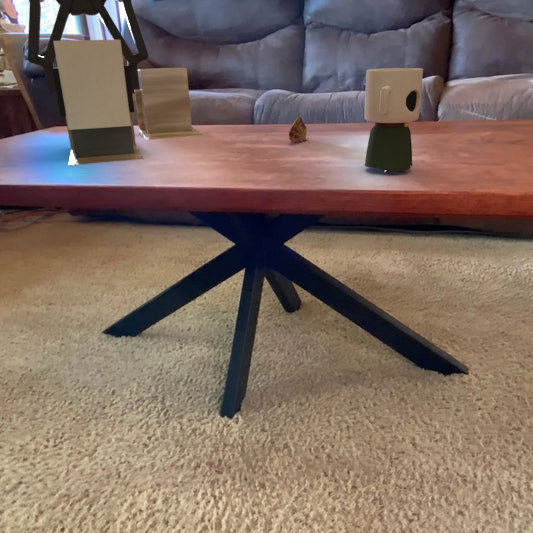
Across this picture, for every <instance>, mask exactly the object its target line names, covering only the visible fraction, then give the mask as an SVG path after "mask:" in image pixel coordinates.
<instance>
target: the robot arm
mask: <svg viewBox="0 0 533 533" xmlns="http://www.w3.org/2000/svg"><path fill="white" fill-rule="evenodd" d="M44 1H45V0H28V3H29V14H28V15H29V16H28V35H27V36H28V38H27V61H28V62H29V63H30V64H33V65H37V66H40V67H41V68H42V69H43V72H44V77H45V83H46V89H47V91H48V92H50V93H55V92H56V97H57V102H58V109H59V114H60V117H65V116H66V111H65V106H64V100H63V94H62V88H61V82H60V76H59V71H58V67H54V62H55V59H56V54H55V48H54V42H53V41H62V37H63V35H64V31H65V28H66V25H67V22H68V19H69V17H70V16H72V17H73V16H74V17H75V16H77V17H78V16H81V15H86V16H96V15H98V17H99V19H100V21H101V22H102V23H103V25H104V27H105V28H106V30H107V31H108V34H109V35H110V36H111V38H112V40H121V48H122V56H123V57H124V58H123V59H124V60H125V61H126V63H127V64H126V65H124V73H125V81H126V89H127V97H128V105H129V112H132V113H135V105H134V95H133V89H139V87H140V86H139V77H138V65H139V63H141V62H144V61H146V60H148V58H149V53H148V50H147V47H146V44H145V40H144V37H143V35H142V32H141V31H142V30H141V28H140V25H139V22H138V19H137V16H136V13H135V10H134V7H133V4H132V0H116V1H117V2H119V3H121V7H122V11H123V13H124V17H125V20H126V22H127V25H128V29H129V32H130V34H131V37H132V41H133V43H134V44H133V45H134V46H135V50H136V53H133V51H132V50H131V48H130V46H129V45H128V43H127V41H126V40H125V37H124V36H123V35H122V33H121V32H120V29H119V28H118V26H117V25H116V24H115V22H114V20H113V18H112V17H111V15H110V13H109V11H108V10H107V7H106V6H105V4H106V3H107V0H55V1H56V2H57V4H58V5H59V8H58V11H57V14H56V18H55V21H54V24H53V27H52V31H51V34H50V36H49V40H48V44H47V46H46V50H45V52H44V56H41V55H40V36H41V18H42V17H41V15H42V6H41V3H43V2H44Z"/></svg>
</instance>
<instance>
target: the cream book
mask: <svg viewBox="0 0 533 533" xmlns="http://www.w3.org/2000/svg"><path fill="white" fill-rule="evenodd" d="M53 42H54V48H55V54H56V56H55V59H56V65H57V68H58V71H59V76H60V82H61V88H62V94H63V100H64V106H65V111H66V118H67V123H68V129H69V130H76V129H91V128H106V127H122V126H131V120H130V112H129V105H128V97H127V89H126V81H125V73H124V58H123V57H124V56H123V54H122V48H121V40H113V39H82V40H81V39H79V40H78V39H77V40H73V39H72V40H61V41H53ZM66 118H65V119H66ZM67 123H66V124H67ZM68 129H67V130H68Z"/></svg>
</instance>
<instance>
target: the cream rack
mask: <svg viewBox="0 0 533 533" xmlns="http://www.w3.org/2000/svg"><path fill="white" fill-rule="evenodd" d="M137 72H138V81H139V86H138V87H139V88H138V89H134V92H133V93H134V99H135V100H134V101H135V106H136V107H135V108H136V114H137V123H138V132H139V135H140V136H141V138H145V140H146V141H151V140H152V141H153V140H164V139H178V138H189V137H190V138H191V137H202V136H205V134H204V133H202V132H201V131H199V130H197V129H196V128H194V127H193V125H192V112H191V100H190V90H189V80H188V78H189V77H188V68H187V67H161V68H137Z"/></svg>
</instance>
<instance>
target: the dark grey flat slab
mask: <svg viewBox="0 0 533 533" xmlns="http://www.w3.org/2000/svg"><path fill="white" fill-rule="evenodd" d="M64 117H65V122H66V123H65V124H66V128H67V133H68V140H69V146H70V154H69V159H68V166H78V165H89V164H101V163H112V162H122V161H134V160H144V156H143V154H142V153H141V151H140V149H139V147H138V146H137V143H136V136H135V126H134V121H133V112H130V120H131V126H122V127H106V128H91V129H76V130H69V129H68V123H67V118H66V116H64Z"/></svg>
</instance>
